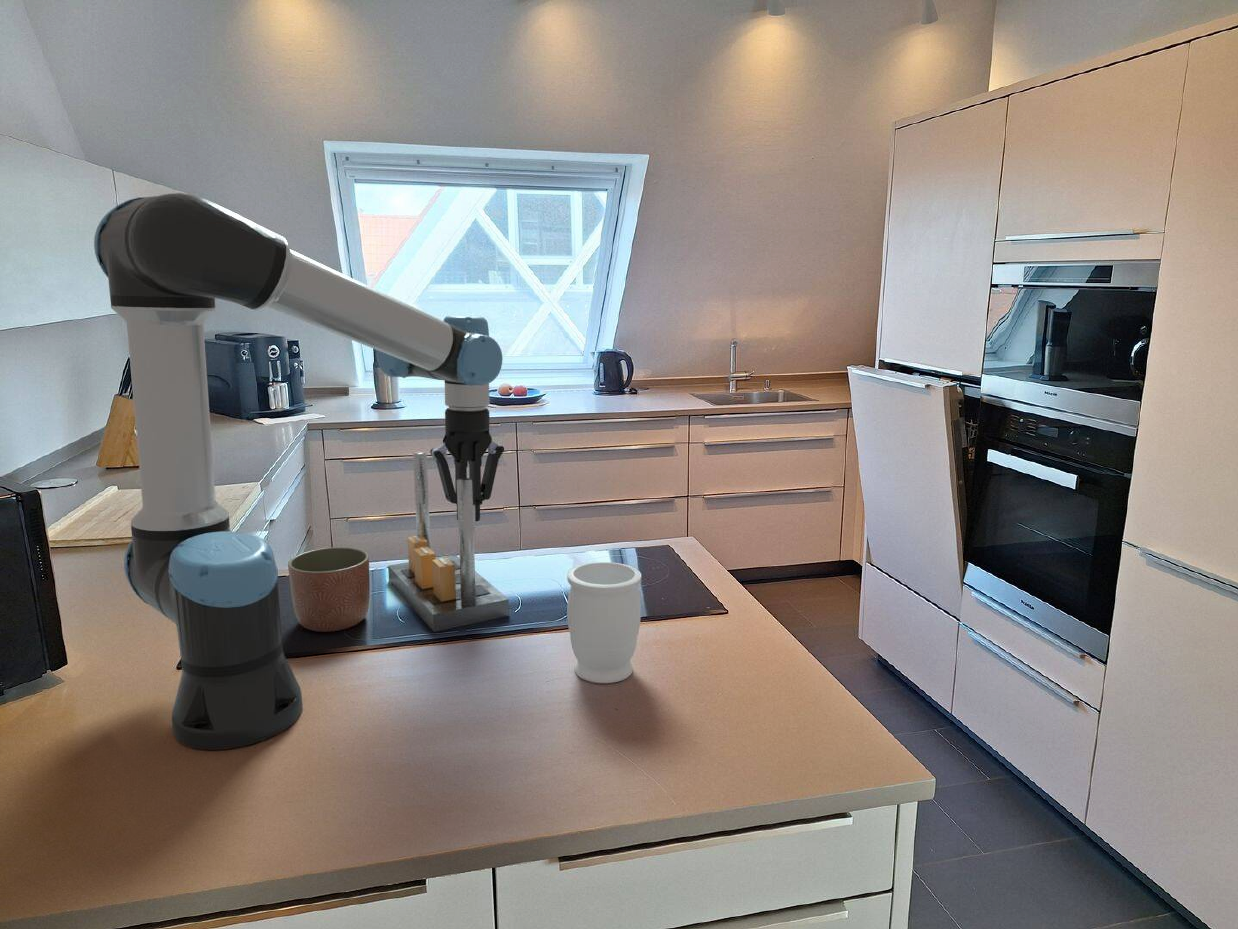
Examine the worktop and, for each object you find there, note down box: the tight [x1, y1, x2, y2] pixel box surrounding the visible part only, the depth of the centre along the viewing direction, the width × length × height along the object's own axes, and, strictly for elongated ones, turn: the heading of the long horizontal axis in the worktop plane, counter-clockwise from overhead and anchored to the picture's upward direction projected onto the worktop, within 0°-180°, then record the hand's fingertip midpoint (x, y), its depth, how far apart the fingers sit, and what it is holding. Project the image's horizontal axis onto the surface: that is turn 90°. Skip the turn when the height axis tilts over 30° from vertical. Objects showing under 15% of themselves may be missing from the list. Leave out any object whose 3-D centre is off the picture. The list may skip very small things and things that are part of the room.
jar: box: [566, 561, 642, 684], centre depth 117 cm, size 11×10×15 cm
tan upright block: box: [414, 547, 436, 589], centre depth 142 cm, size 4×2×6 cm, turn 31°
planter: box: [287, 546, 371, 633], centre depth 133 cm, size 12×12×11 cm
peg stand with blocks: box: [387, 451, 510, 633], centre depth 143 cm, size 26×13×24 cm, turn 31°
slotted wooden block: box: [432, 558, 456, 602], centre depth 137 cm, size 4×2×6 cm, turn 31°
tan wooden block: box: [407, 535, 428, 574], centre depth 148 cm, size 4×2×6 cm, turn 31°
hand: (468, 539), depth 145 cm, fingers closed
